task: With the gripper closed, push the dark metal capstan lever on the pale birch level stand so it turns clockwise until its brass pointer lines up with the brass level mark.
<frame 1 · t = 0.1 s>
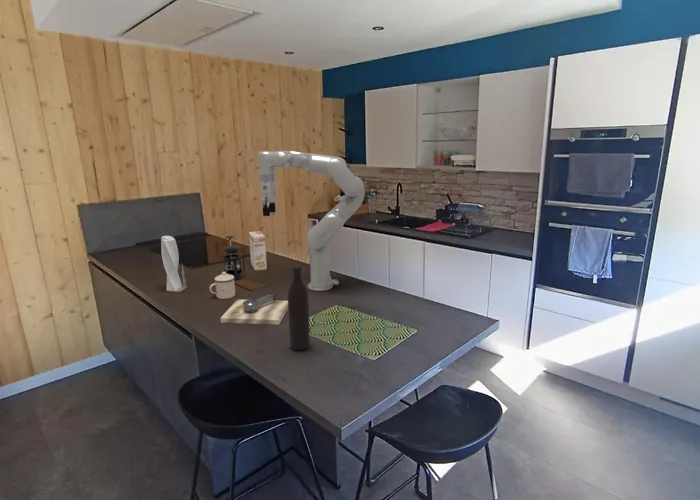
hand: (269, 214, 198), 37 cm above the counter, tool pointing down, fingers open, 9 cm apart
coffeecake box: (258, 266, 239), on the counter
capstan lever: (257, 302, 175), point 4 cm above the counter, hinge at 35.0°
level stand: (257, 313, 175), on the counter
french press: (234, 278, 219), on the counter
wine bottle: (300, 347, 147), on the counter
teacup with lid: (223, 296, 194), on the counter
skyscraper: (175, 290, 203), on the counter
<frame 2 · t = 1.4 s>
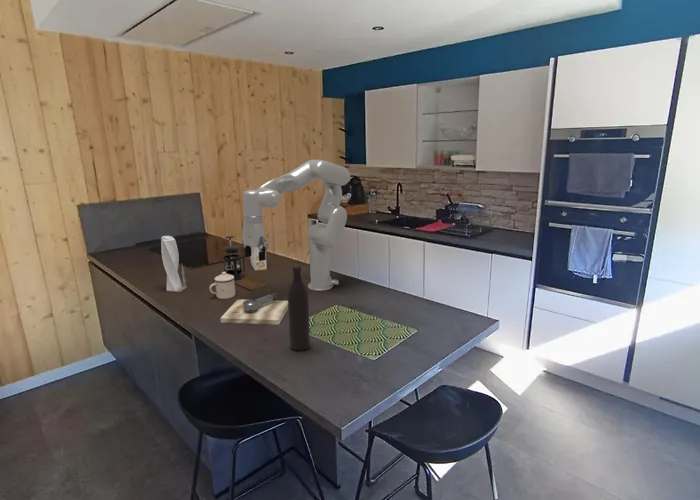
hand: (255, 258, 179), 21 cm above the counter, tool pointing down, fingers open, 9 cm apart
nothing on the counter moved.
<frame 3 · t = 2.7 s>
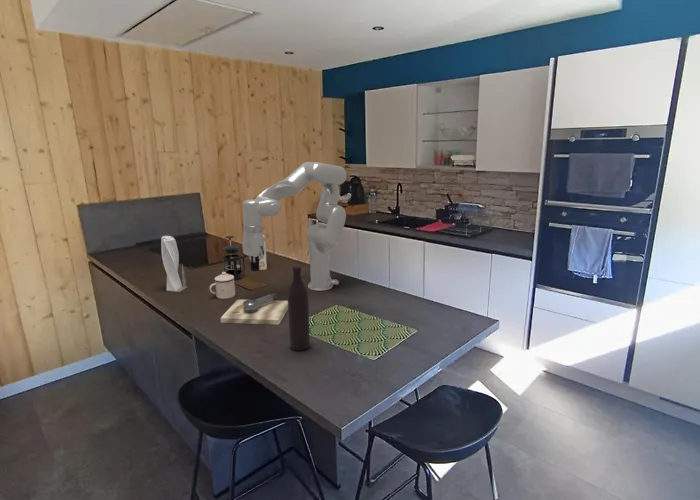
hand: (255, 270, 179), 16 cm above the counter, tool pointing down, fingers closed
nothing on the counter moved.
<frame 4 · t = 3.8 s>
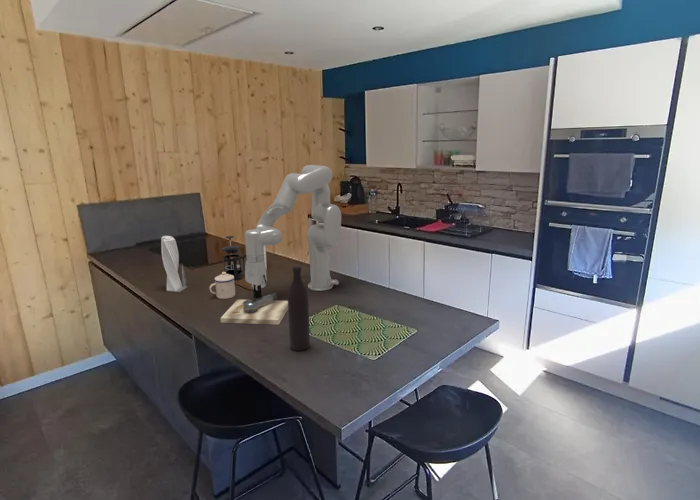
hand: (257, 297, 183), 4 cm above the counter, tool pointing down, fingers closed
nothing on the counter moved.
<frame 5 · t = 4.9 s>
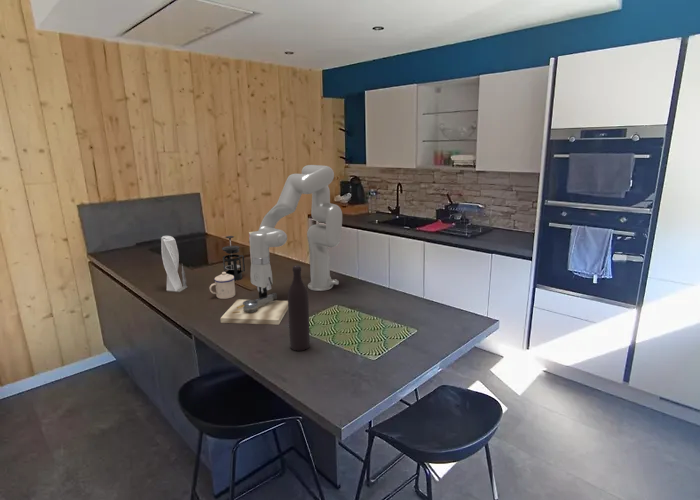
hand: (263, 300, 181), 3 cm above the counter, tool pointing down, fingers closed
capstan lever: (257, 302, 175), point 4 cm above the counter, hinge at 34.1°, touching gripper
everything else where it was.
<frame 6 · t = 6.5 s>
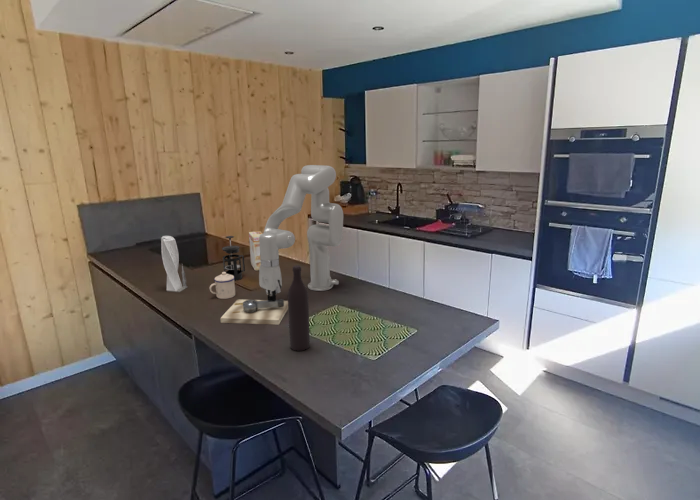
hand: (272, 303, 176), 3 cm above the counter, tool pointing down, fingers closed
capstan lever: (259, 304, 173), point 4 cm above the counter, hinge at -5.1°, touching gripper
everything else where it was.
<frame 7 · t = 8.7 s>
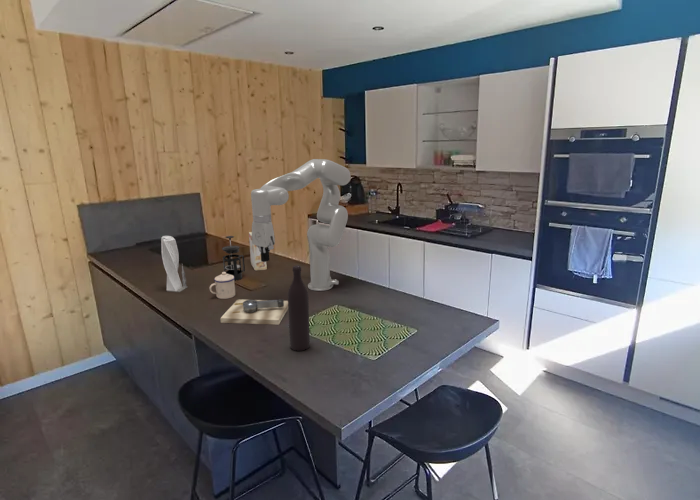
hand: (265, 260, 176), 21 cm above the counter, tool pointing down, fingers closed
capstan lever: (259, 304, 173), point 4 cm above the counter, hinge at -5.3°
everything else where it was.
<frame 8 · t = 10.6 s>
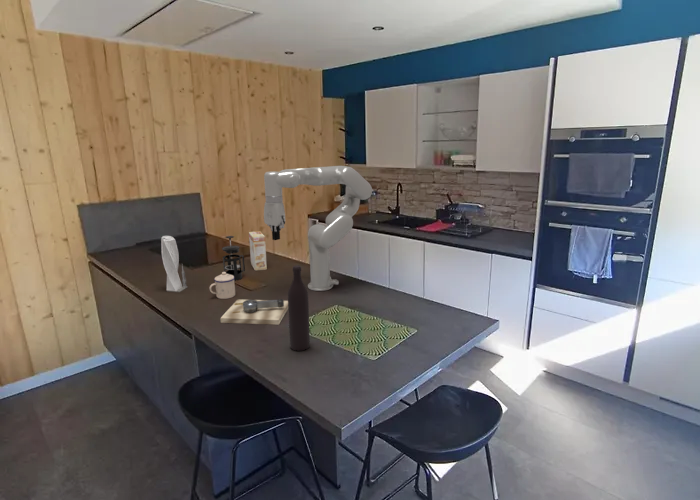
hand: (276, 239, 188), 27 cm above the counter, tool pointing down, fingers closed
nothing on the counter moved.
at the end: capstan lever at -5° (first picture: +35°); teacup with lid moved 0.2 cm from its start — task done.
